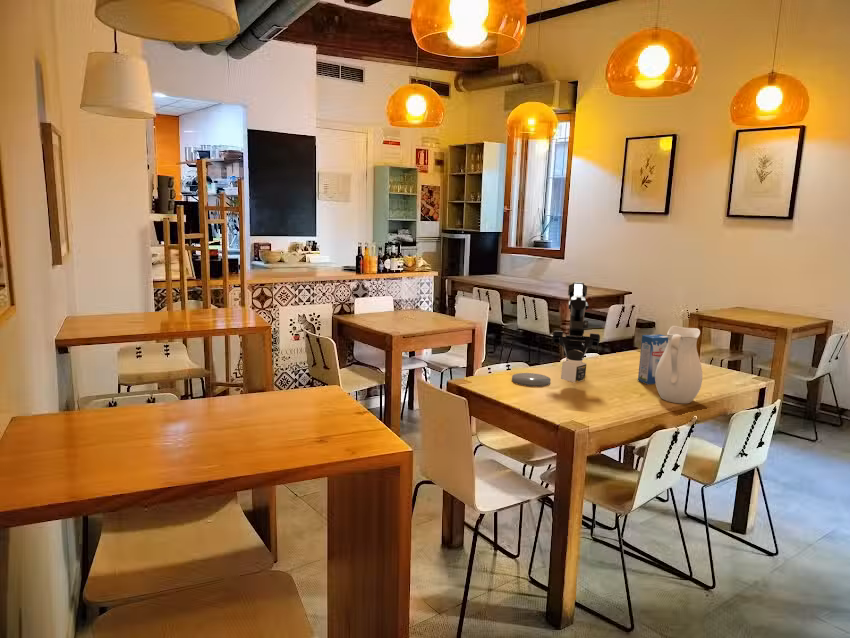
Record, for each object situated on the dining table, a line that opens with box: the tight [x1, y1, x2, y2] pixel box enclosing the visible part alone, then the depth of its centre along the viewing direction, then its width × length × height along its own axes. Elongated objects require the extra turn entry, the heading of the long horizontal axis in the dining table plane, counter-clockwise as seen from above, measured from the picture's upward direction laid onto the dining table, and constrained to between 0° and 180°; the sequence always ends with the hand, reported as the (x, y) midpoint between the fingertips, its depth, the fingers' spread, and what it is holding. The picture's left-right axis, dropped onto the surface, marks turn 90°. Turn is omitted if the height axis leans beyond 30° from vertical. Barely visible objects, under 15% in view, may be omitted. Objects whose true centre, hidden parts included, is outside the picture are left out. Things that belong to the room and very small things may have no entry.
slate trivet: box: [511, 372, 551, 388], centre depth 264 cm, size 16×16×2 cm
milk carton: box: [637, 334, 668, 385], centre depth 269 cm, size 10×6×20 cm, turn 111°
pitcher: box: [655, 325, 703, 405], centre depth 240 cm, size 24×17×28 cm
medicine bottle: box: [560, 350, 587, 384], centre depth 255 cm, size 7×7×12 cm
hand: (575, 355), depth 255 cm, fingers closed on medicine bottle, 6 cm apart
